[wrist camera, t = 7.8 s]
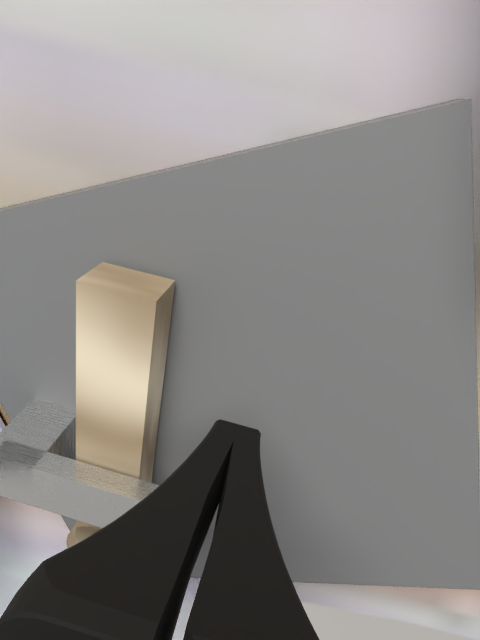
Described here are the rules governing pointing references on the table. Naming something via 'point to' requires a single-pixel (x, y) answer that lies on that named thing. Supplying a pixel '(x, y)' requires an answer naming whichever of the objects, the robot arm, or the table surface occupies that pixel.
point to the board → (293, 331)
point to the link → (119, 371)
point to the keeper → (61, 469)
